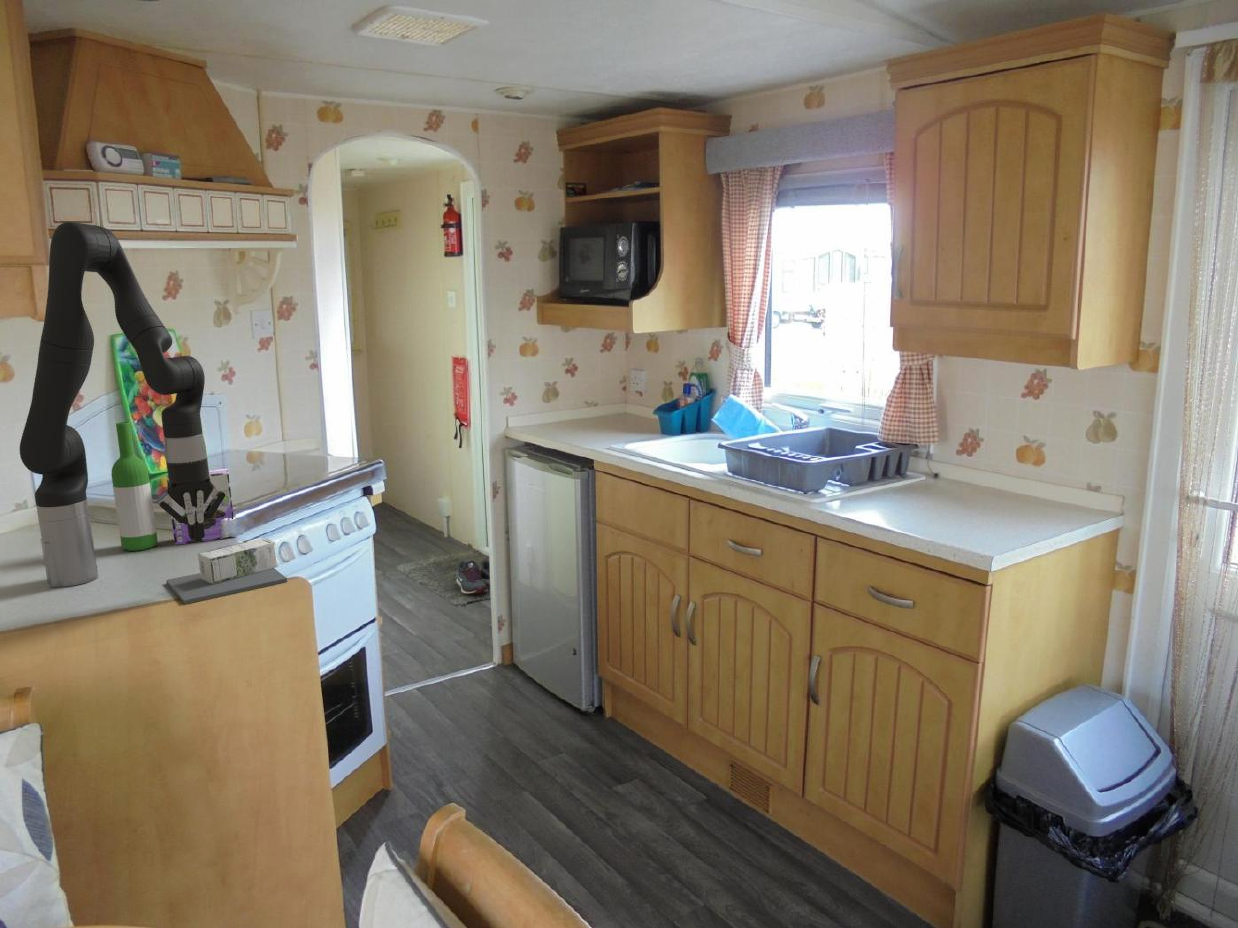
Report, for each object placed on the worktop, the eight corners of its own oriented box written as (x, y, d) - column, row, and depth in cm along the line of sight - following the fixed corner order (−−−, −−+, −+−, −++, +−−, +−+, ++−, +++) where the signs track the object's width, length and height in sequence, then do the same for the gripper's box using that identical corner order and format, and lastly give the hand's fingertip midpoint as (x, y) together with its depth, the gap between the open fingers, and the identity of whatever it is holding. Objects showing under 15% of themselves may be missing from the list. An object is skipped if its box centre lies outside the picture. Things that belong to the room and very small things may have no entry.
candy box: (174, 545, 224) (165, 478, 220) (174, 539, 229) (166, 473, 225) (236, 537, 229) (228, 471, 226) (235, 531, 234) (228, 467, 231)
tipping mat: (184, 604, 184) (184, 600, 184) (166, 583, 197) (166, 579, 197) (287, 581, 196) (286, 578, 196) (264, 563, 208) (263, 560, 208)
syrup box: (200, 579, 196) (264, 561, 207) (213, 585, 193) (278, 566, 203) (196, 553, 195) (262, 536, 206) (210, 558, 191) (276, 541, 202)
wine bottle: (116, 548, 223) (98, 423, 216) (149, 540, 229) (133, 418, 222) (130, 554, 218) (112, 426, 211) (164, 546, 224) (147, 421, 217)
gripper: (154, 465, 181) (166, 551, 184) (225, 455, 188) (236, 538, 192) (146, 459, 187) (158, 543, 190) (216, 450, 194) (226, 530, 198)
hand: (197, 540), depth 191 cm, fingers closed
